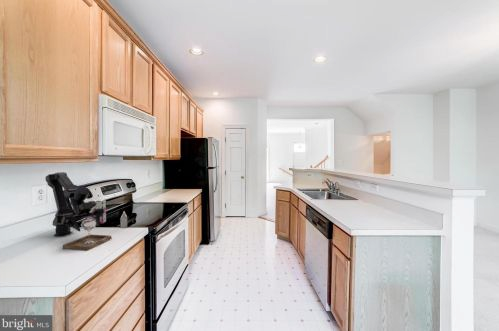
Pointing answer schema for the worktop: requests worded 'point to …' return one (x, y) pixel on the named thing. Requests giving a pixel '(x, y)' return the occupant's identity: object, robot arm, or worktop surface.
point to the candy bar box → (98, 205)
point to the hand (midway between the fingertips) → (89, 228)
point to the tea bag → (123, 220)
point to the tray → (79, 242)
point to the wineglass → (88, 227)
